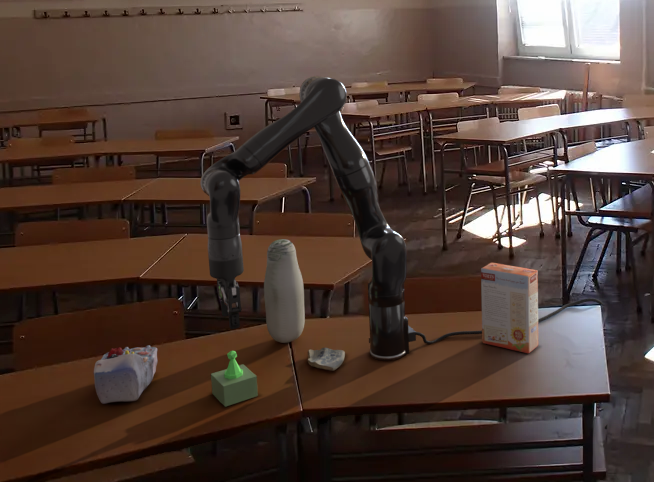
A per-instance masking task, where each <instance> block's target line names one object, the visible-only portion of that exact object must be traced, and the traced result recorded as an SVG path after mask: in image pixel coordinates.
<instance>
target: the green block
mask: <svg viewBox="0 0 654 482" xmlns="http://www.w3.org/2000/svg"><path fill="white" fill-rule="evenodd" d="M238 366H239V367H240V369H243V374H242V376H240V377H238V378H235V379H228V378H225V377H224V373H225V371H226V370H227V368H226V369H222V370H220V371H216V372H212V373H210V380H211V381H210V382H211V394H212V395H213V396H214V397H215V398H216V399H217V400H218V401H219V403H221V404H222V405H223V406H224V408H226V407H229V406H231V405H235V404H238V403H241V402H244V401H247V400H250V399H253V398H256V397H258V396H259V392H258V390H259V389H258V376H257V375H256V374H255V373H254V372H252V371H251V370H250V369H249V368H248V367H247V366H246V365H245V364H238Z"/></svg>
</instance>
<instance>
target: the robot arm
mask: <svg viewBox="0 0 654 482" xmlns="http://www.w3.org/2000/svg"><path fill="white" fill-rule="evenodd" d="M299 101H300V103H299V104H298V105H297V106H296V107H295V108H293V109H292V110H291V111H289V112H288V113H287V114H285V115H283V116H282V117H280V118H279V119H277V120H275V121H273V122H271V123H270V124H268V125H266V126H265V127H263V128H262V129H260V130H259V131H257V132H256V133H255V134H253V135H252V136H251V137H249V138H248V139H247V140H246V141H245V142H243V144H241V145H240V146H239V147H238V148H237V149H235V151H233V152H231V153H229V154H227V155H226V156H224V157H222V158H221V159H219V160H218V161H216V162H215V163H213V164H211V166H210V167H208V168H207V169H206V170H205V172H203V173H202V176H201V178H200V183H199V184H200V188H201V190H202V192H203V193H204V194H205V195H207V197H209V212H208V213H207V215H206V229H207V230H206V231H207V254H208V257H207V258H208V268H209V276H210V277H211V278H213V279H215V280H216V289H217V293H216V294H217V295H218V299H219V301H220V309H221V316H222V317H228V326H229V329H230V330H235V329H239V328H240V326H241V321H240V313H242V310H243V309H242V303H241V291H240V290H241V289H240V285H239V282H238V281H236V278H237V277H239V276H241V275H242V274H243V273H244V272H245V271H244V270H245V269H244V256H243V255H244V254H243V243H242V238H241V231H240V218H239V211H240V205H241V185H240V181H241V180H242V179H243V178H245V177H247V176H253V175H255V174H257V173H258V172H261V170H262V169H263V168H264V167H266V166H267V165H268V164H269V163H271V161H272V160H274V159H275V158H276V157H277V156H279V154H280V153H282V152H283V151H284V150H285V149H286V148H287V147H289V146H290V145H292V144H293V143H294V142H295V141H296V140H298V139H299V138H301V137H302V136H303V135H305V134H306V133H308V132H309V131H310V130H312V129H314V130H315V132H316V134H317V137H318V138H319V141H320V144H321V147H322V149H323V152H324V155H325V157H326V159H327V162H328V164H329V166H330V169H331V172H332V176H333V177H334V180H335V183H336V184H337V187H338V189H339V191H340V193H341V195H342V197H343V200H344V202H345V205H346V206H347V208H348V210H349V211H350V214H351V216H352V219H353V220H354V224H355V226H356V230H357V234H358V237H359V241H360V244H361V248H362V250H363V252H364V254H365V256H367V258H369V260H371V274H372V275H371V277H370V278H369V279H368V280H367V296H368V297H367V298H368V299H367V301H368V322H369V323H368V324H369V338H368V344H369V345H370V346H369V347H370V348H369V353H370V354H369V355H370V357H371V358H373V359H375V360H377V361H388V362H389V361H395V360H399V359H401V358H403V357H404V356H406V355H408V354H410V343H412V342H416V341H417V336H419V337H421V338H422V341H423V343H424V344H425V345H433V344H435V343H437V342H440V341H443V340H444V339H446V338H450V337H453V336H462V335H465V336H466V335H482V330H463V331H462V330H461V331H452V332H448V333H445V334H443V335H441V336H439V337H438V338H436V339H434V340H427V338H426V337H427V336H426V335H425V334H424V333H422V332H419V331H415V330H414V328H412V327H411V326H410V325H409V319H408V318H409V317H407V316H406V306H405V305H406V303H405V302H406V301H405V282H406V280H407V275H408V274H407V273H408V271H407V270H408V269H407V266H408V265H407V263H408V259H407V257H408V254H407V245H406V241H405V239H404V237H403V236H402V235H400V234H399V232H396V231H395V230H394V229H392V227H390V225H389V224H388V222H387V220H386V218H385V217H384V214H383V212H382V210H381V208H380V203H379V201H378V189H377V181H376V177H375V174H374V171H373V168H372V166H371V164H370V161H369V159H368V156H367V155H366V153H365V151H364V149H363V148H362V146H361V145H360V144H359V142H358V140H357V139H356V138H355V137H354V136H353V134H352V132H351V131H350V130H349V128H348V127H347V125H346V123H345V122H344V119H343V117H342V114H341V112H340V111H341V110H342V109H343V107H344V106H345V104H346V102H347V89H346V87H345V85H344V84H343V83H342V82H341V81H340V80H338V79H336V78H333V77H330V76H322V75H314V76H309V77H307V78H306V79H305V80H304V81H303V82H302V84H301V85H300V87H299ZM587 302H593V303H596V304H599V305H604V303H603V302H602V301H601V300H599V299H597V298H594V297H593V298H592V297H588V298H583V299H580V300H576V301H573V302H569V303H567V304H564V305H562V306H560V307H559V308H558V309H556V310H554V311H552V312H551V313H548V314H547V315H544V316H542V317H540V318H538V324H539V323H541V322H543V321H545V320H548V319H549V318H551V317H553V316H555V315H557V314H559V313H561V312H562V311H564V310H565V309H567V308H570V307H574V306H577V305H579V304H583V303H587ZM233 304H235V306H234V307H233ZM608 425H609V424H608V423H607V424H606V425H605V426H604V430H609V429H608V428H609V427H608Z"/></svg>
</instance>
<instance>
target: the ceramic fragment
mask: <svg viewBox="0 0 654 482" xmlns="http://www.w3.org/2000/svg"><path fill="white" fill-rule="evenodd" d="M345 356H346V352H345V350H342V349H332V348H328V347H321V348H320V349H315V350H313V349H308V351H307V363H308V365H309V366H311V367H312V368H313V367H314V368H317V369H321V370H326V371H330V372H333V371H335V370H337V369H338V368H340V367H341V366H342V365H343V362H344V361H345Z"/></svg>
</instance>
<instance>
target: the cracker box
mask: <svg viewBox="0 0 654 482" xmlns="http://www.w3.org/2000/svg"><path fill="white" fill-rule="evenodd" d="M538 271H539V270H537V269H532V268H526V267H520V266H513V265H509V264H503V263H496V262H489V263H487V264H486V265H485V266H483V267H481V268H480V279H481V280H480V282H481V283H480V287H481V289H480V290H481V294H480V295H481V331H482V334H481V338H482V339H481V340H482V344H485V345H486V344H487V345H490V346H493V347H497V348H503V349H507V350H512V351H515V352H521V353H524V354H530V353H531V352H533V351H534V350H535V349H537V348H538V347H539V323H538V319H539V280H538V279H539V275H538Z"/></svg>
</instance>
